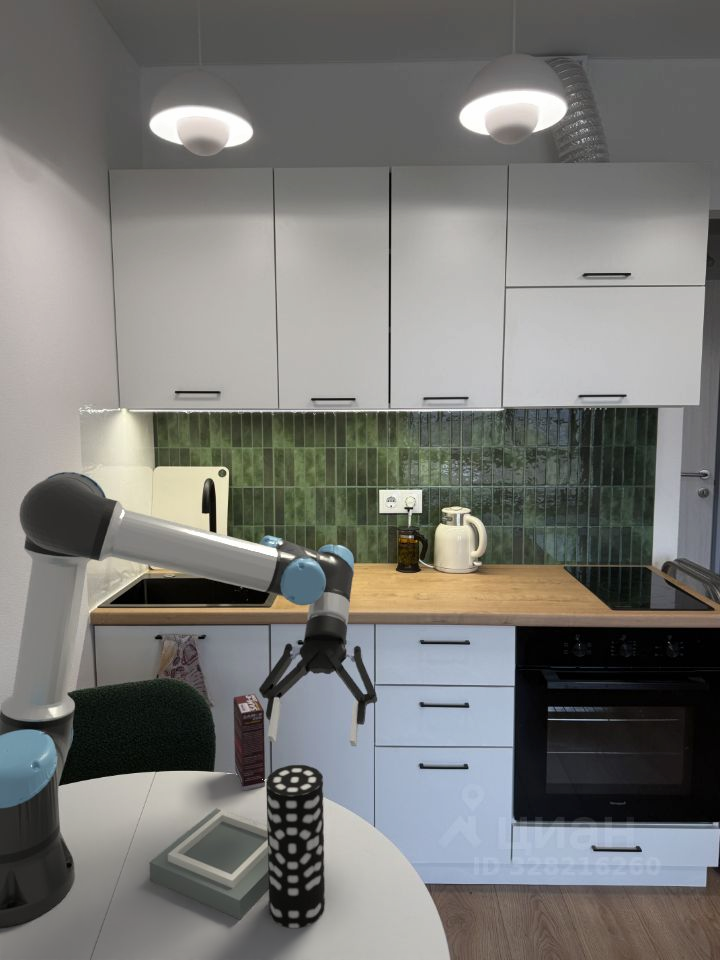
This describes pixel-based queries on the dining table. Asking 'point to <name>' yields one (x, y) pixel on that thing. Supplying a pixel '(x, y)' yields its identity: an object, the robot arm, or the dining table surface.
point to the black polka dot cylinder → (295, 845)
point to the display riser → (217, 863)
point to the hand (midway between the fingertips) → (311, 741)
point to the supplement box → (249, 741)
